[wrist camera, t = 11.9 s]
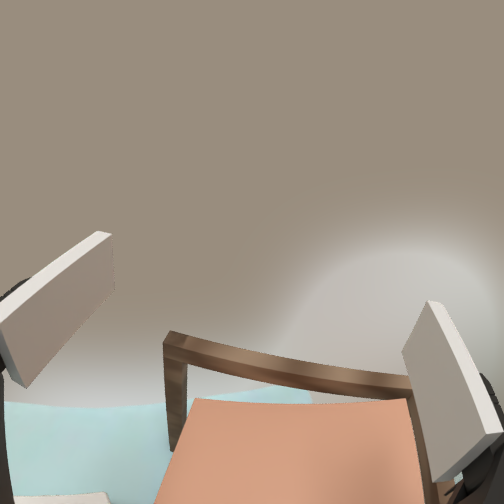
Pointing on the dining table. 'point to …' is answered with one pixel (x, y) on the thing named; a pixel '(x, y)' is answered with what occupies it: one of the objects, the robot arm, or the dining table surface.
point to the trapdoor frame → (290, 375)
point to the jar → (65, 499)
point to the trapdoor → (294, 455)
